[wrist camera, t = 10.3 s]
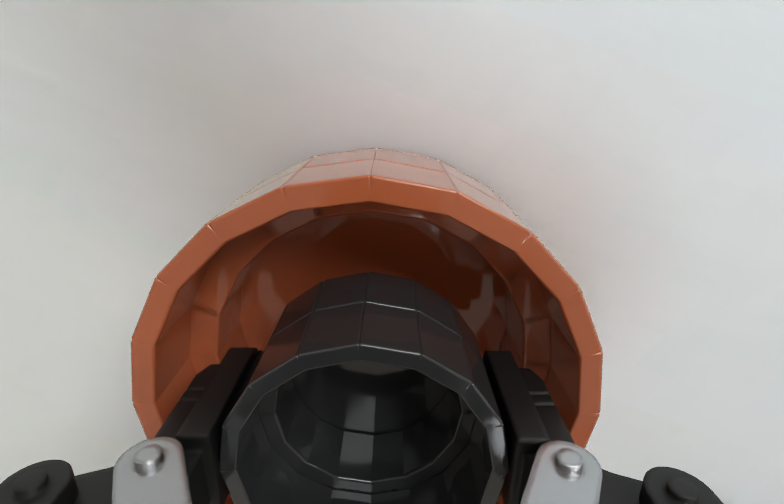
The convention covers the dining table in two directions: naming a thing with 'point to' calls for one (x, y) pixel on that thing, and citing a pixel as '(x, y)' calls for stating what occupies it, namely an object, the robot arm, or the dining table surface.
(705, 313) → the dining table surface
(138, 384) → the terracotta bowl
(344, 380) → the black bowl
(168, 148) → the dining table surface
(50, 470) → the robot arm
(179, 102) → the dining table surface
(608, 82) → the dining table surface
